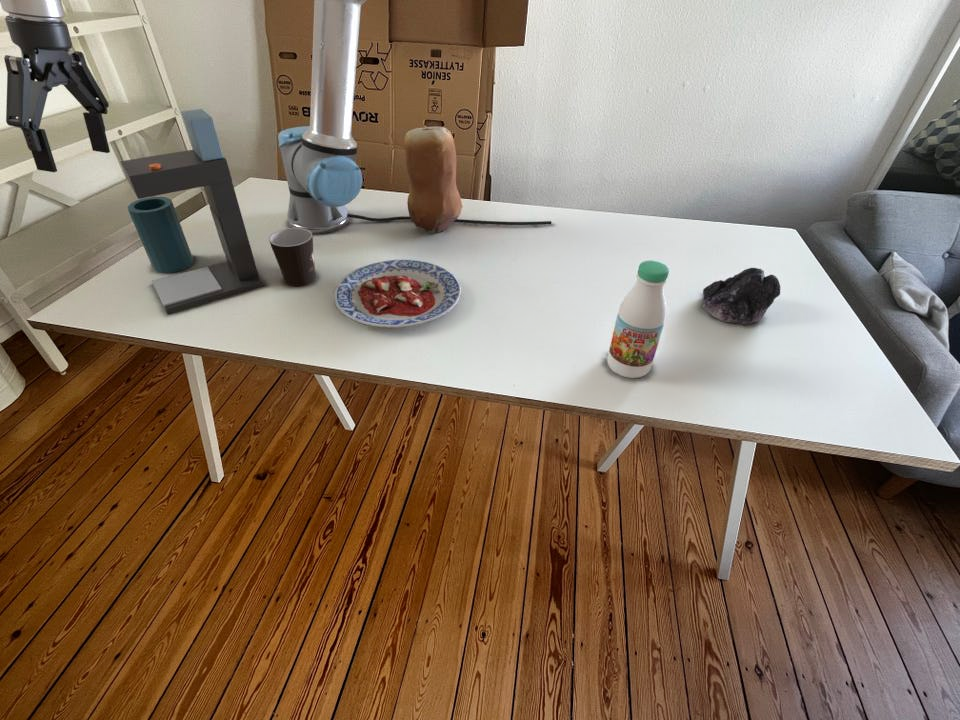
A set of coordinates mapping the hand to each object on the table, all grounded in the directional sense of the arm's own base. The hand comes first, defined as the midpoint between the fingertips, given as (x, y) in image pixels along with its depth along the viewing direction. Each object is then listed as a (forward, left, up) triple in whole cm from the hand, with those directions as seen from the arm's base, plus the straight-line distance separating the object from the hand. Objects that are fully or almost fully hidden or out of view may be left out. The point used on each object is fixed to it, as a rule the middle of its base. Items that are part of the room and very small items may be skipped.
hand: (76, 160), depth 91 cm
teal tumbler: (-4, -11, -27) cm, 29 cm away
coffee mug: (-33, -4, -27) cm, 43 cm away
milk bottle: (-95, +32, -27) cm, 104 cm away
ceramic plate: (-54, +7, -27) cm, 61 cm away
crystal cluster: (-123, +16, -27) cm, 127 cm away
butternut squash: (-63, -25, -27) cm, 73 cm away
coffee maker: (-14, -1, -27) cm, 30 cm away
